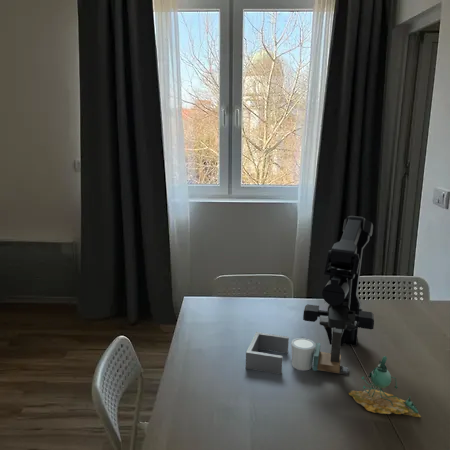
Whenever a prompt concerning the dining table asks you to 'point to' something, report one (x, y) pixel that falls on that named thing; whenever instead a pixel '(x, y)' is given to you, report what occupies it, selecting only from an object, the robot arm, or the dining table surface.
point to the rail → (343, 370)
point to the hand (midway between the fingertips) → (336, 344)
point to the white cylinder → (302, 353)
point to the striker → (329, 355)
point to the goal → (263, 359)
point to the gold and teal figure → (383, 395)
